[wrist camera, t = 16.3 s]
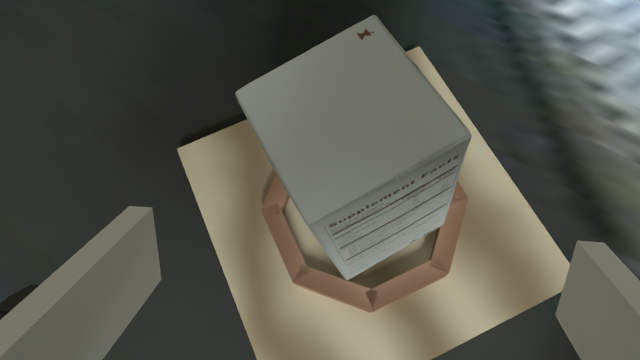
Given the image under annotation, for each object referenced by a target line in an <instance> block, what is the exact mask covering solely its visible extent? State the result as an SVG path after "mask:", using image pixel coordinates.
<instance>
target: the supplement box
mask: <svg viewBox="0 0 640 360" xmlns="http://www.w3.org/2000/svg"><path fill="white" fill-rule="evenodd" d="M235 95H236V97H237V99H238V102H239V104H240V106H241V108H242V110H243V112H244V114H245V115H246V117H247V119H248V121H249V123H250V125H251V127H252V129H253V131H254V133H255V135H256V137H257V139H258V141H259V143H260V145H261V146H262V148H263V150H264V152H265V154H266V156H267V158H268V159H269V161H270V163H271V165H272V167H273V169H274V170H275V172H276V174H277V176H278V178H279V179H280V181H281V183H282V185H283V186H284V188H285V190H286V192H287V193H288V195H289V197H290V198H291V200H292V202H293V203H294V205H295V207H296V208H297V210H298V212H299V213H300V215H301V217H302V218H303V220H304V221H305V223H306V224H307V226H308V227H309V229H310V230H311V231H312V233H313V234H314V236H315V237H316V239H317V240H318V241H319V243H320V244H321V246H322V247H323V249H324V250H325V252H326V253H327V255H328V256H329V258H330V259H331V261H332V262H333V263H334V265H335V266H336V267H337V269H338V270H339V272H340V273H341V274H342V276H343V277H344V278H345V280H347V281H348V280H350V279H352V278H353V277H355V276H356V275H358V274H360V273H361V272H363V271H365V270H367V269H368V268H370V267H372V266H373V265H375V264H377V263H379V262H380V261H382V260H384V259H385V258H387V257H389V256H391V255H392V254H394V253H396V252H397V251H399V250H401V249H403V248H404V247H406V246H408V245H409V244H411V243H413V242H415V241H416V240H418V239H420V238H422V237H423V236H425V235H427V234H428V233H430V232H432V231H434V230H435V229H437V228H439V227H440V226H442V225H443V224H444V221H445V218H446V215H447V212H448V209H449V206H450V203H451V200H452V196H453V193H454V190H455V187H456V183H457V180H458V177H459V173H460V170H461V167H462V164H463V161H464V157H465V154H466V151H467V148H468V145H469V143H470V140H471V137H472V135H471V133H470V131H469V129H468V128H467V126H466V125H465V124H464V123H463V122H462V120H461V119H460V118H459V117H458V115H457V114H456V113H455V112H454V111H453V110H452V108H451V107H450V106H449V105H448V104H447V102H446V101H445V100H444V99H443V97H442V96H441V95H440V94H439V92H438V91H437V90H436V89H435V88H434V86H433V85H432V84H431V83H430V82H429V80H428V79H427V78H426V77H425V75H424V74H423V72H422V71H421V70H420V68H419V67H418V66H417V65H416V63H415V62H414V61H413V60H412V59H411V58H410V57H409V56H408V55H407V53H406V52H405V51H404V50H403V48H402V47H401V46H400V45H399V44H398V42H397V41H396V40H395V39H394V37H393V36H392V35H391V34H390V33H389V31H388V30H387V29H386V28H385V26H384V25H383V24H382V23H381V21H380V20H379V18H378V17H377V16H376V15H372V16H370V17H369V18H367V19H365V20H363V21H361V22H359V23H357V24H355V25H353V26H352V27H350V28H348V29H346V30H344V31H342V32H341V33H339V34H337V35H335V36H333V37H332V38H330V39H328V40H326V41H324V42H323V43H321V44H319V45H317V46H315V47H314V48H312V49H310V50H308V51H307V52H305V53H303V54H301V55H299V56H297V57H296V58H294V59H292V60H290V61H288V62H287V63H285V64H283V65H281V66H279V67H278V68H276V69H274V70H272V71H271V72H269V73H267V74H265V75H263V76H262V77H260V78H258V79H256V80H254V81H252V82H251V83H249V84H247V85H246V86H244V87H242V88H241V89H239V90H238V91H236V93H235Z"/></svg>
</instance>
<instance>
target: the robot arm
mask: <svg viewBox="0 0 640 360" xmlns="http://www.w3.org/2000/svg"><path fill="white" fill-rule="evenodd" d="M160 280H161V272H160V264H159V257H158V249H157V241H156V233H155V225H154V217H153V210H152V208H149V207H136V206H129V207H128V208H127V209H125V210H124V211H123V212H122V213H121V214H120V215H119V216H118V217H116V218H115V219H114V220H113V221H112V222H111V223H110V224H108V225H107V226H106V227H105V228H104V229H103V230H102V231H101V232H99V233H98V234H97V235H96V236H95V237H94V238H93V239H91V240H90V241H89V242H88V243H87V244H86V245H85V246H84V247H82V248H81V249H80V250H79V251H78V252H77V253H76V254H74V255H73V256H72V257H71V258H70V259H69V260H68V261H67V262H65V263H64V264H63V265H62V266H61V267H60V268H59V269H57V270H56V271H55V272H54V273H53V274H52V275H51V276H50V277H48V278H47V279H46V280H45V281H44V282H43V283H42V284H40V285H30V286H28V287H26V288H24V289H22V290H20V291H18V292H17V293H15V294H13V295H11V296H9V297H8V298H7V299H6V300H4V301H3V302H2V303H1V304H0V360H103V358H104V357H105V356H106V354H107V353H108V351H109V350H110V349H111V347H112V346H113V345H114V343H115V342H116V341H117V339H118V338H119V336H120V335H121V334H122V332H123V331H124V330H125V328H126V327H127V326H128V324H129V323H130V321H131V320H132V319H133V317H134V316H135V315H136V313H137V312H138V310H139V309H140V308H141V306H142V305H143V304H144V302H145V301H146V300H147V298H148V297H149V295H150V294H151V293H152V291H153V290H154V289H155V287H156V286H157V284H158V283H159V282H160ZM555 316H556V317H557V319H558V321H559V323H560V324H561V326H562V328H563V330H564V331H565V333H566V335H567V337H568V338H569V340H570V342H571V344H572V345H573V347H574V349H575V350H576V352H577V354H578V356H579V357H580V359H581V360H640V281H639V280H638V278H637V277H636V276H635V275H634V274H633V273H632V272H631V271H630V270H629V269H628V268H627V267H626V266H625V265H624V263H623V262H622V261H621V260H620V259H619V258H618V257H617V256H616V255H615V254H614V253H613V252H612V251H611V250H610V249H609V247H608V246H607V245H606V244H605V243H601V242H588V241H577V243H576V246H575V250H574V253H573V256H572V260H571V263H570V267H569V270H568V273H567V277H566V280H565V284H564V287H563V290H562V294H561V297H560V301H559V304H558V307H557V311H556V314H555Z"/></svg>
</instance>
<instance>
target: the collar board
mask: <svg viewBox="0 0 640 360" xmlns="http://www.w3.org/2000/svg"><path fill="white" fill-rule="evenodd" d="M406 53H407V55H408V56H409V57H410V58H411V59H412V60H413V61H414V62H415V63H416V65H417V66H418V67H419V68H420V70H421V71H422V72H423V74H424V75H425V77H426V78H427V79H428V80H429V82H430V83H431V84H432V85H433V86H434V88H435V89H436V90H437V91H438V92H439V94H440V95H441V96H442V97H443V99H444V100H445V101H446V102H447V104H448V105H449V106H450V107H451V108H452V110H453V111H454V112H455V113H456V114H457V115H458V117H459V118H460V119H461V120H462V122H463V123H464V124H465V125H466V126H467V128H468V129H469V131H470V133H471V135H472V137H471V140H470V143H469V145H468V148H467V151H466V154H465V157H464V161H463V164H462V167H461V170H460V173H459V177H458V180H457V183H456V187H455V190H454V193H453V196H452V200H451V203H450V206H449V209H448V212H447V215H446V218H445V221H444V224H443V225H442V226H440V227H439V228H437V229H435V230H434V231H432V232H430V233H428V234H427V235H425V236H423V237H422V238H420V239H418V240H416V241H415V242H413V243H411V244H409V245H408V246H406V247H404V248H403V249H401V250H399V251H397V252H396V253H394V254H392V255H391V256H389V257H387V258H385V259H384V260H382V261H380V262H379V263H377V264H375V265H373V266H372V267H370V268H368V269H367V270H365V271H363V272H361V273H360V274H358V275H356V276H355V277H353V278H352V279H350V280H348V281H347V280H345V278H344V277H343V276H342V274H341V273H340V272H339V270H338V269H337V267H336V266H335V265H334V263H333V262H332V261H331V259H330V258H329V256H328V255H327V253H326V252H325V250H324V249H323V247H322V246H321V244H320V243H319V241H318V240H317V239H316V237H315V236H314V234H313V233H312V231H311V230H310V229H309V227H308V226H307V224H306V223H305V221H304V220H303V218H302V217H301V215H300V213H299V212H298V210H297V208H296V207H295V205H294V203H293V202H292V200H291V198H290V197H289V195H288V193H287V192H286V190H285V188H284V186H283V185H282V183H281V181H280V179H279V178H278V176H277V174H276V172H275V170H274V169H273V167H272V165H271V163H270V161H269V159H268V158H267V156H266V154H265V152H264V150H263V148H262V146H261V145H260V143H259V141H258V139H257V137H256V135H255V133H254V131H253V129H252V127H251V125H250V123H249V121H248V119H246V120H244V121H242V122H239V123H237V124H234V125H232V126H230V127H227V128H225V129H223V130H220V131H218V132H216V133H213V134H211V135H208V136H206V137H204V138H201V139H199V140H197V141H194V142H192V143H190V144H187V145H185V146H182V147H180V148H178V149H177V151H178V153H179V156H180V159H181V161H182V164H183V166H184V169H185V172H186V174H187V177H188V180H189V182H190V185H191V187H192V190H193V193H194V195H195V198H196V201H197V203H198V206H199V208H200V211H201V214H202V216H203V219H204V222H205V224H206V227H207V229H208V232H209V235H210V237H211V240H212V243H213V245H214V248H215V250H216V253H217V256H218V258H219V261H220V264H221V266H222V269H223V271H224V274H225V277H226V279H227V282H228V285H229V287H230V290H231V292H232V295H233V298H234V300H235V303H236V306H237V308H238V311H239V313H240V316H241V319H242V321H243V324H244V327H245V329H246V332H247V334H248V337H249V340H250V342H251V345H252V348H253V350H254V353H255V355H256V358H257V360H431V359H433V358H435V357H437V356H439V355H441V354H443V353H445V352H446V351H448V350H450V349H452V348H454V347H456V346H458V345H460V344H462V343H464V342H466V341H468V340H470V339H471V338H473V337H475V336H477V335H479V334H481V333H483V332H485V331H487V330H489V329H491V328H493V327H494V326H496V325H498V324H500V323H502V322H504V321H506V320H508V319H510V318H512V317H514V316H516V315H518V314H519V313H521V312H523V311H525V310H527V309H529V308H531V307H533V306H535V305H537V304H539V303H541V302H543V301H544V300H546V299H548V298H550V297H552V296H554V295H556V294H558V293H560V292H562V290H563V287H564V284H565V280H566V277H567V273H568V270H569V267H570V264H569V262H568V261H567V259H566V258H565V256H564V255H563V253H562V252H561V251H560V249H559V248H558V246H557V245H556V243H555V242H554V240H553V239H552V238H551V236H550V235H549V233H548V232H547V230H546V229H545V227H544V226H543V225H542V223H541V222H540V220H539V219H538V217H537V216H536V214H535V213H534V212H533V210H532V209H531V207H530V206H529V204H528V203H527V201H526V200H525V198H524V197H523V196H522V194H521V193H520V191H519V190H518V188H517V187H516V185H515V184H514V183H513V181H512V180H511V178H510V177H509V175H508V174H507V172H506V171H505V170H504V168H503V167H502V165H501V164H500V162H499V161H498V159H497V158H496V157H495V155H494V154H493V152H492V151H491V149H490V148H489V146H488V145H487V143H486V142H485V141H484V139H483V138H482V136H481V135H480V133H479V132H478V130H477V129H476V128H475V126H474V125H473V123H472V122H471V120H470V119H469V117H468V116H467V115H466V113H465V112H464V110H463V109H462V107H461V106H460V104H459V103H458V102H457V100H456V99H455V97H454V96H453V94H452V93H451V91H450V90H449V89H448V87H447V86H446V84H445V83H444V81H443V80H442V78H441V77H440V75H439V74H438V73H437V71H436V70H435V68H434V67H433V65H432V64H431V62H430V61H429V60H428V58H427V57H426V55H425V54H424V52H423V51H422V49H421V48H420V47H416V48H414V49H412V50H409V51H407V52H406Z"/></svg>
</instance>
